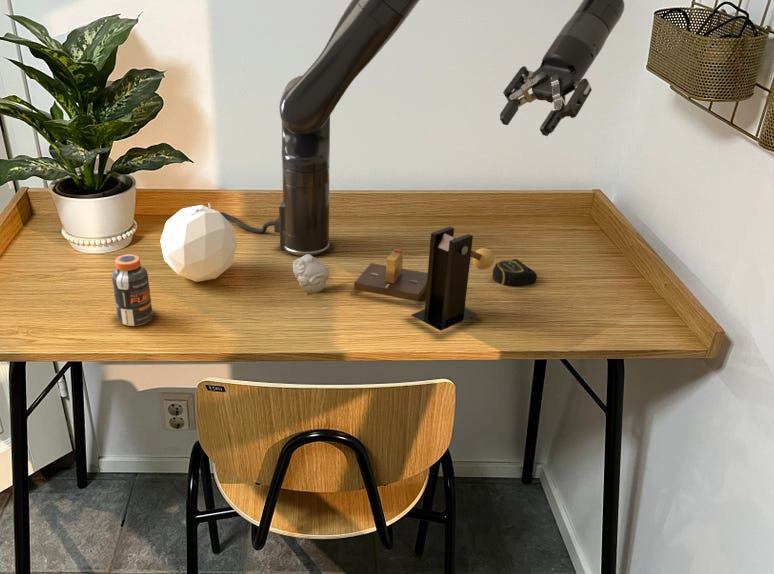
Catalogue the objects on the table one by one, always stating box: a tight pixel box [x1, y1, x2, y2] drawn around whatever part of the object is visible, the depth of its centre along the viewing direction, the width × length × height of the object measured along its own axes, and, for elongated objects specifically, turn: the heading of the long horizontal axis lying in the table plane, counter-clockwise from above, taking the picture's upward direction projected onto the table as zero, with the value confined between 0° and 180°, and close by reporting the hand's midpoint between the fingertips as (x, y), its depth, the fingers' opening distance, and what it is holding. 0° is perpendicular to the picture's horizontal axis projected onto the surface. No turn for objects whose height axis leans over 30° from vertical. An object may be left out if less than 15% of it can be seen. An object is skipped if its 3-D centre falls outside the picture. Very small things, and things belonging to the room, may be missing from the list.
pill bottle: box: [111, 254, 154, 327], centre depth 130 cm, size 6×6×11 cm
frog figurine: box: [292, 254, 330, 295], centre depth 139 cm, size 6×7×7 cm
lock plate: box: [353, 262, 428, 302], centre depth 140 cm, size 12×9×3 cm
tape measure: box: [491, 258, 538, 288], centre depth 142 cm, size 7×7×4 cm
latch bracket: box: [411, 225, 478, 332], centre depth 127 cm, size 9×7×16 cm
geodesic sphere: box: [159, 204, 237, 283], centre depth 144 cm, size 15×14×14 cm
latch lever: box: [438, 234, 495, 270], centre depth 128 cm, size 13×4×4 cm, turn 129°
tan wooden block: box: [385, 248, 404, 284], centre depth 139 cm, size 5×2×5 cm, turn 155°
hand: (522, 127), depth 132 cm, fingers open, 8 cm apart
